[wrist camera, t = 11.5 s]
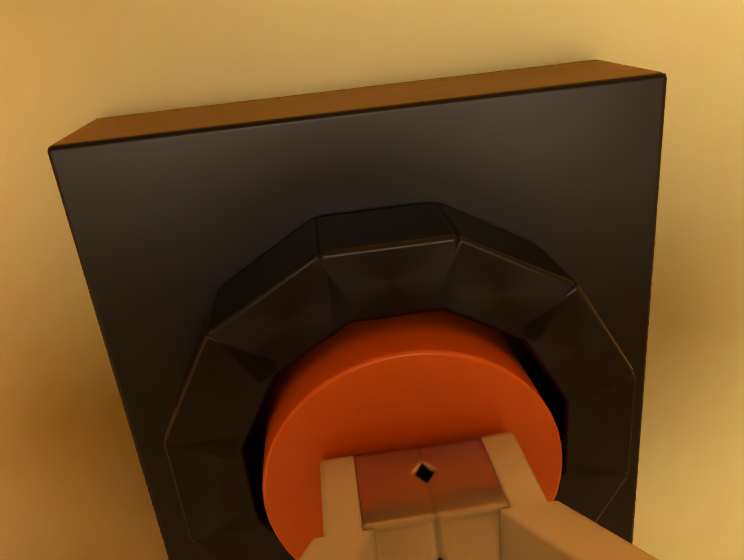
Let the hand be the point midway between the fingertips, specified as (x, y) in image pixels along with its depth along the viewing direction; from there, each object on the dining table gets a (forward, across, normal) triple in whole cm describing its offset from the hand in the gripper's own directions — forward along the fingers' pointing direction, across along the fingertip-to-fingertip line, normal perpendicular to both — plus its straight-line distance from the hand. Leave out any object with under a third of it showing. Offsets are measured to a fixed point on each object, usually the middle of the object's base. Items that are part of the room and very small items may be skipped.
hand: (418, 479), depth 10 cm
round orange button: (+2, 0, 0) cm, 2 cm away
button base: (+5, 0, 0) cm, 5 cm away
